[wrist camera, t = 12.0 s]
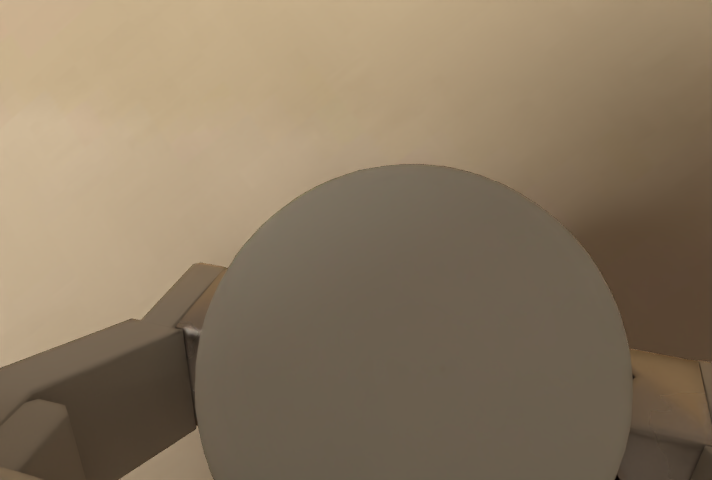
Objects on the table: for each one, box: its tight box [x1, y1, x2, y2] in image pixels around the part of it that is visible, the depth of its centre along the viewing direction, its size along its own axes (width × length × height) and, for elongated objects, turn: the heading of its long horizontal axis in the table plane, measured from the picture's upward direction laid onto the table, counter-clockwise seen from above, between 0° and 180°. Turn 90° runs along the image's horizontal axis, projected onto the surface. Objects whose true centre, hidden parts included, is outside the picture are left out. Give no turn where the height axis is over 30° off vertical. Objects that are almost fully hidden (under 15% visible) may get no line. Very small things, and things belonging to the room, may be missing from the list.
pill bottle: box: [195, 164, 633, 480], centre depth 10 cm, size 5×5×8 cm
